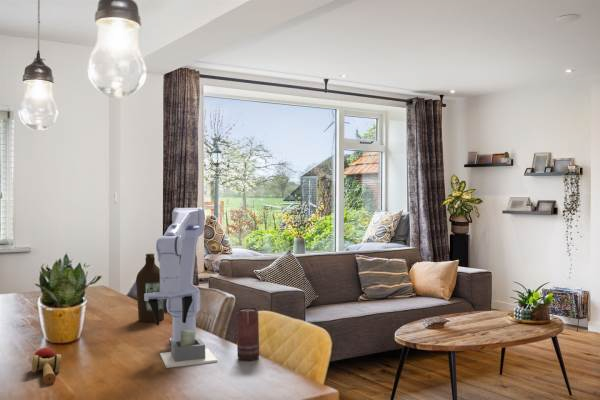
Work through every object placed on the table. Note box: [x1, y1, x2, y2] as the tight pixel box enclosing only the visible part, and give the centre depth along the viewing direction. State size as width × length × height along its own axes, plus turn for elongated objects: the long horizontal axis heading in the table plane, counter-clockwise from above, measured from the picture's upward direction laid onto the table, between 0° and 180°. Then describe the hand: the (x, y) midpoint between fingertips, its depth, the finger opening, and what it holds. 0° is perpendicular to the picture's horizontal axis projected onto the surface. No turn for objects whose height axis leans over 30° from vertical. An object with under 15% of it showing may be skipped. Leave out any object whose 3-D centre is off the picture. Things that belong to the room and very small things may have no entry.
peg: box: [180, 330, 195, 347], centre depth 170 cm, size 4×4×7 cm
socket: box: [159, 338, 218, 369], centre depth 170 cm, size 14×14×4 cm
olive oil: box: [135, 253, 165, 323], centre depth 225 cm, size 11×11×25 cm
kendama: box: [31, 347, 62, 385], centre depth 157 cm, size 8×6×18 cm
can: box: [236, 307, 260, 362], centre depth 169 cm, size 6×6×14 cm
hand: (170, 323), depth 174 cm, fingers open, 7 cm apart
